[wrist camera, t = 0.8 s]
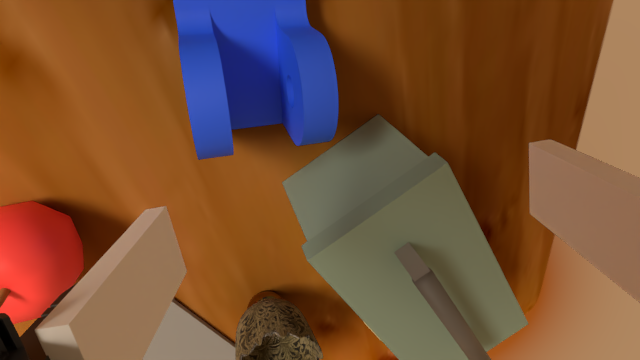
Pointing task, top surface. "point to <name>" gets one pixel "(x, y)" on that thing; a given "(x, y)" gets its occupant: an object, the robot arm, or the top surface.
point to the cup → (274, 331)
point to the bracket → (254, 71)
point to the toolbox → (403, 247)
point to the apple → (36, 258)
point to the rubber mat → (187, 338)
